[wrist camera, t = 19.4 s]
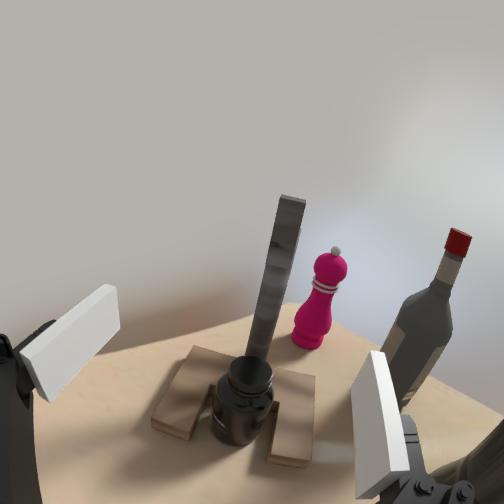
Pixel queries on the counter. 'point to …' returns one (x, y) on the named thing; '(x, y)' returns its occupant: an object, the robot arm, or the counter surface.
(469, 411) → the counter surface
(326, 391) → the counter surface
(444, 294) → the liquor
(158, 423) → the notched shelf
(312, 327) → the pepper mill
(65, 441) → the counter surface
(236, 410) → the supplement bottle
